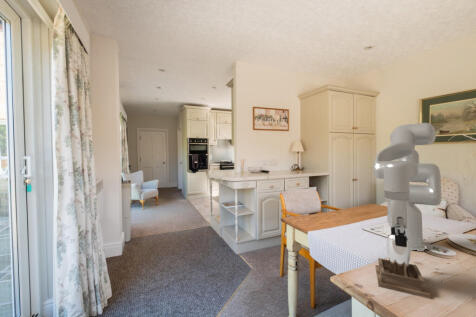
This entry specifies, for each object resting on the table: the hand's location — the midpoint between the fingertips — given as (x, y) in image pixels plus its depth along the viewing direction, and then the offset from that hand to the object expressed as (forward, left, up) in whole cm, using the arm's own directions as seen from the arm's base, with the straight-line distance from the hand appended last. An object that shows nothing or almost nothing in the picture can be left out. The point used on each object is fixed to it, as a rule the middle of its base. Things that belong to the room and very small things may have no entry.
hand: (398, 240), depth 76 cm
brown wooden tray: (+1, 0, -15) cm, 15 cm away
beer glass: (0, 0, -14) cm, 14 cm away
